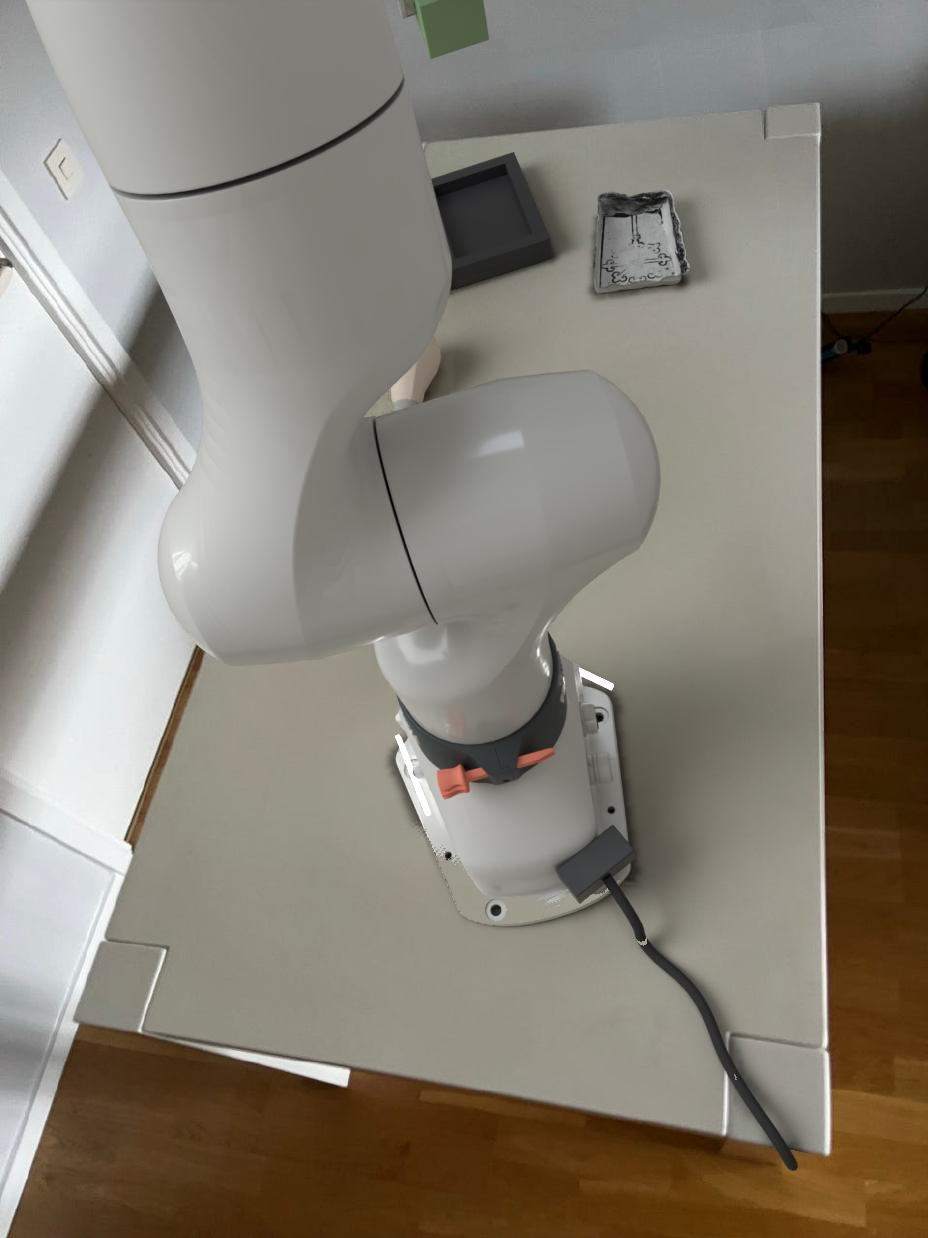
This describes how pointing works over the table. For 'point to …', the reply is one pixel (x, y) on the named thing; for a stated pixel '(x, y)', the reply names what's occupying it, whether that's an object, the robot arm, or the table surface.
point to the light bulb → (417, 378)
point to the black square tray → (490, 220)
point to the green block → (451, 24)
